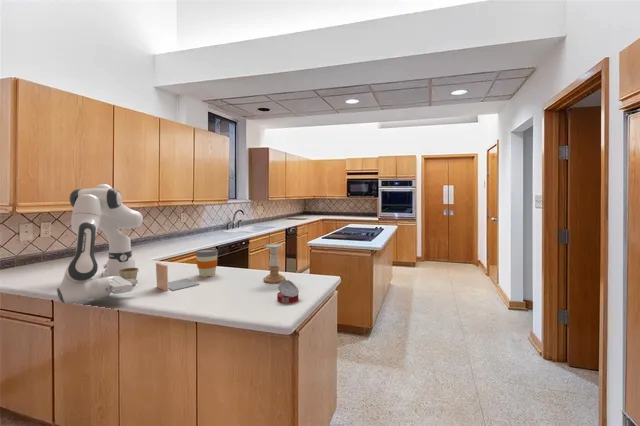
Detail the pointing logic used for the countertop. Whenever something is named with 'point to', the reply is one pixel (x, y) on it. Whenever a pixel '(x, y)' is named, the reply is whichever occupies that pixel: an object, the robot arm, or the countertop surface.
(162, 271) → the tile
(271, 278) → the candle holder
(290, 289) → the canned food
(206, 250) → the reusable coffee cup
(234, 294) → the countertop surface
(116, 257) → the robot arm
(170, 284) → the mat
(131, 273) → the flower pot
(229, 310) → the countertop surface
